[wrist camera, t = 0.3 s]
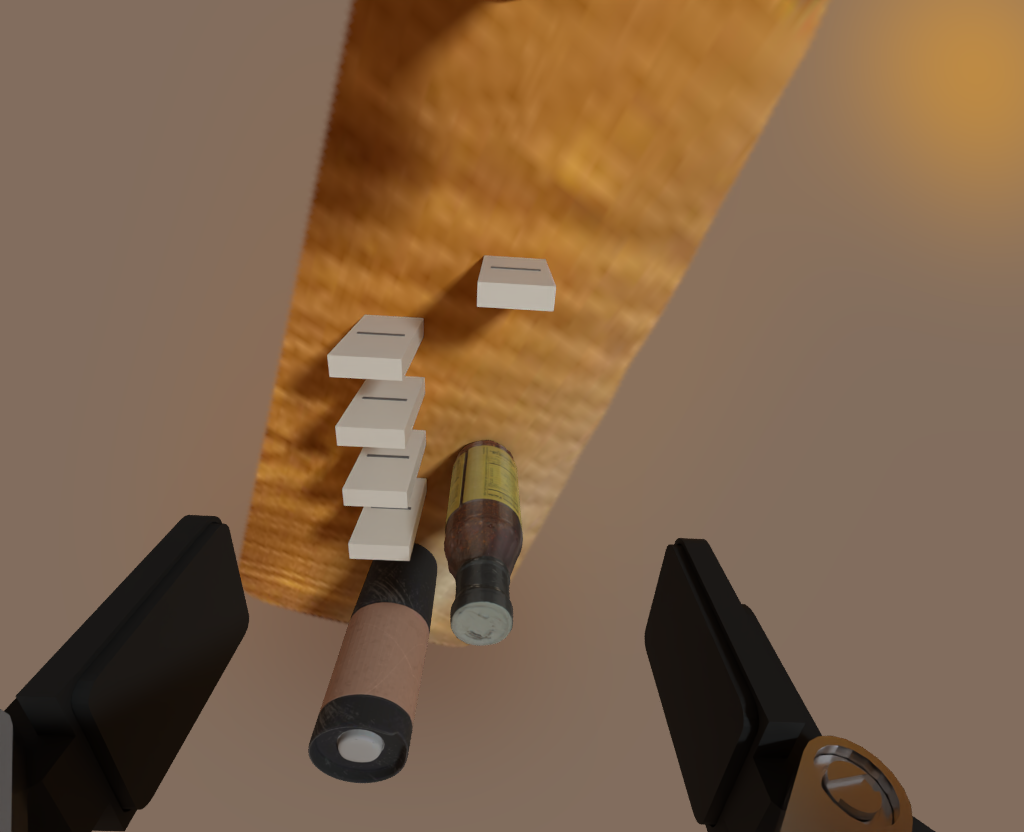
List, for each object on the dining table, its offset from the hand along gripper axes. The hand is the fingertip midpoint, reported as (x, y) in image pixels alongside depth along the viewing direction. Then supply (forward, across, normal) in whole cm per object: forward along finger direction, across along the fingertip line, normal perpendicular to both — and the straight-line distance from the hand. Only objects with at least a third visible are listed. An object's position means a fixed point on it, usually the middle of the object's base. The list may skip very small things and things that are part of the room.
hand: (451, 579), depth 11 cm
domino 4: (+34, +8, +21) cm, 41 cm away
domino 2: (+34, +8, +10) cm, 37 cm away
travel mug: (+35, +8, +32) cm, 48 cm away
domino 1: (+34, +8, +5) cm, 35 cm away
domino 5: (+34, -2, -1) cm, 34 cm away
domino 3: (+34, +8, +16) cm, 39 cm away
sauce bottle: (+35, 0, +18) cm, 39 cm away
